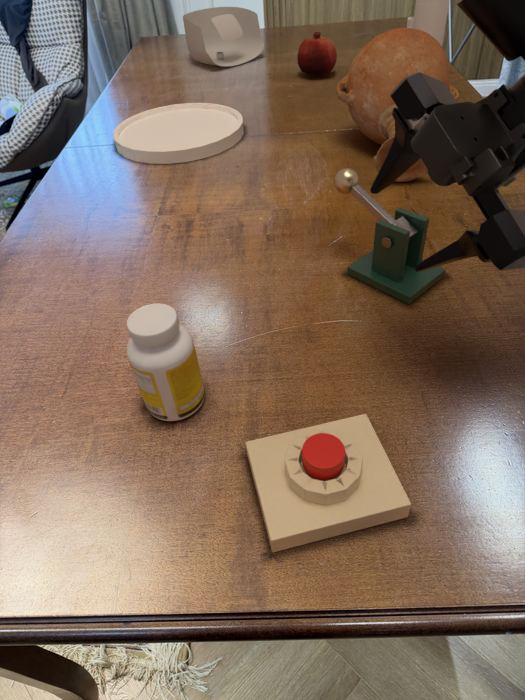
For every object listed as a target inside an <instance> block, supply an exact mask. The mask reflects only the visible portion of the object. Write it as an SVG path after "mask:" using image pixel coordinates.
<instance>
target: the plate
mask: <svg viewBox="0 0 525 700" xmlns="http://www.w3.org/2000/svg"><path fill="white" fill-rule="evenodd" d="M244 134H245V130H244V120H243V115H242V114H241V112H239V111H238V110H236V109H234V108H232V107H230V106H227V105H224V104H220V103H219V104H218V103H212V102H211V103H209V102H185V103H174V104H169V105H163V106H159V107H155V108H151V109H147V110H143V111H141V112H139V113H136V114H133V115H131V116H130V117H128V118H126V119H125V120H123V121H121V122H120V123H119V124H118V125H116V127H115V128H114V131H113V133H112V136H113V141H114V145H115V147H116V150H117V153H118V154H120V155H121V156H122V157H123V158H125V159H128V160H131V161H133V162H136V163H143V164H149V165H171V164H182V163H183V164H184V163H188V162H189V163H190V162H193V161H198V160H203V159H207V158H210V157H212V156H215V155H218V154H221V153H223V152H225V151H227V150H229V149H231V148H233V147H234V146H235V145H236V144H237V143H239V142H241V140H242V138H243V136H244Z"/></svg>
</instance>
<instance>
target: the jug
mask: <svg viewBox="0 0 525 700" xmlns="http://www.w3.org/2000/svg"><path fill="white" fill-rule="evenodd" d="M449 65H450V64H449V60H448V57H447V54H446V52H445V49H444V48H443V46H441V44H440V43H439V42H438V41H437V40H436V39H435V38H434V37H432V36H431V35H430V34H428V33H426V32H424V31H422V30H419V29H412V28H407V27H399V28H391V29H389V30H386V31H384V32H382V33H379V34H377V35H376V36H375V37H373V38H372V39H371V40H369V42H368V43H367V44H365V45H364V46H363V47H362V48H361V49H360V50H359V51H358V53H357V54H356V56H355V57H354V59H353V60H352V63H351V65H350V67H349V69H348V73H347V74H346V75H345V76H344V77H343V78H342V79H341V80H339V82H338V83H337V85H336V88H335V94H336V97H337V98H338V100H340V101H341V102H343V103H345V104H346V105H347V107H348V111H349V113H350V116H351V118H352V120H353V122H354V123H355V125H356V126H357V128H358V130H359V131H360V132H361V133H362V134H363V135H364V136H366V138H368V139H369V140H371V141H373V142H374V143H377V144H379V145H381V146H380V148H379V149H378V151H377V152H376V155H374V156H373V163H374V165H375V169H376V171H377V172H378V173H379V171H380V169H381V167H382V165H383V163H384V161H385V159H386V157H387V155H388V153H389V150H390V148H391V145H392V143H393V140H394V137H395V120H394V118H393V116H392V111H393V109H394V108H398V107H397V106H396V104H395V103H394V101H393V99H392V98H391V92H392V91H393V90H394V89H395V88H396V86H397V85H398V84H399V83H400V82H401V81H402V80H403V79H404V78H405V77H407V76H409V75H411V74H413V73H419V72H420V73H423V74H425V75H428V76H430V77H432V78H435V79H437V80H439V81H442V82H444V83H445V84H446V85H447V87H448V89H449V90H450V92H451V93H452V95H453V96H454V98H455V99H456V101H457V102H459V99H460V93H459V91H458V89H457V88H456V87H454V86H453V85H452V84H451V82H450V80H451V74H450V73H451V72H450V66H449ZM426 175H428V169H427V167H426V166H425V164H424V162H423V161H422V159H421V158H420V159H419V160H418V161H417V162H416V163H415V164H414V165H412V166H411V167H410V168H409V169H408V170H407V171H406V172H404V173H403V174H402V175H401V176H400V177H399V178H398V179H396V180H395V181H394V182H397V183H403V182H404V183H405V182H410V181H414V180H415V179H421V178H422V177H424V176H426Z"/></svg>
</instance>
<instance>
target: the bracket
mask: <svg viewBox="0 0 525 700" xmlns="http://www.w3.org/2000/svg"><path fill="white" fill-rule="evenodd" d="M402 216H403V217H404V218H405V219H406V220H407V221H408V222H409V223H410V224H411V225H412V226H414V227H415V228H416V229H417V230H418V232H417V233H416V235H415V236H414V237H413V239H412V240H411V241H410V243H409V237H410V231H408V230H406V229H403V228H401V227H398V226H396V225H393V224H391V223H388V222H386V221H383V220H378V221H376V222H375V227H374V236H373V237H374V238H373V248H372V250H371V251H370V252H368V253H367V254H365V255H364V256H362V257H361V258H359V259H358V260H356V261H355V262H353V263H352V264H350V265H348V266H347V275H348V276H350V277H352V278H354V279H356V280H358V281H360V282H362V283H364V284H366V285H368V286H370V287H373V288H375V289H376V290H379V291H380V292H382V293H385V294H386V295H388V296H390V297H392V298H395V299H397V300H398V301H401V302H403V303H404V304H407V305H410V304H411V303H413V302H414V301H415V300H416V299H418V298H420V296H422V295H424V293H426V292H427V291H428V290H430V289H431V288H432V287H433V286H434V285H435V284H437V283H439V282H440V281H441V280H442V279H443V278H445V276H446V272H447V271H446V270H447V269H446V268H443V267H442V266H438V267H434V268H431V269H427V270H424V271H420V272H416V271H415V269H414V268H415V267H416V266H417V265H419V264H420V263H421V262H422V261H424V260H425V259H423V257H424V252H425V247H426V246H425V245H426V241H427V240H426V239H427V234H428V229H429V223H430V218H429V217H427V216H425V215H421V214H419V213H417V212H414V211H411V210H408V209H405V208H402V207H398V208H396V209H395V211H394V217H393V218H394V219H395V220H397V219H399V218H400V217H402ZM408 243H409V244H408Z"/></svg>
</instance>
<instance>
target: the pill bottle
mask: <svg viewBox="0 0 525 700" xmlns="http://www.w3.org/2000/svg"><path fill="white" fill-rule="evenodd" d="M126 328H127V331H128V334H129V337H130V338H129V340H128V342H127V345H126V356H127V360H128V362H129V365H130V368H131V371H132V373H133V375H134V378H135V382H136V384H137V386H138V389H139V392H140V394H141V397H142V399H143V403H144V406H145V407H146V410H147V411H148V412H149V414H150V415H152V416H153V418H156V419H158V420H160V421H165V422H175V421H176V422H177V421H181V420H184V419H186V418H188V417H190V416H192V415H193V414H195V413H196V412H197V411H198V410H199V409H200V408H201V407H202V405H203V403H204V400H205V396H206V395H205V394H206V391H205V385H204V381H203V377H202V373H201V368H200V364H199V360H198V355H197V350H196V346H195V343H194V338H193V336H192V334H191V332H190V331H189V330H188V328H186V327H185V326H184V325H182V324H180V320H179V317H178V314H177V311H176V310H175V308H174V307H172V306H170V304H166V303H161V302H160V303H157V302H156V303H149V304H146V305H142V306H140V307H138V308H137V309H135V310H134V311H133V312H132V313H130V315H128V318H127V320H126Z"/></svg>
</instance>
